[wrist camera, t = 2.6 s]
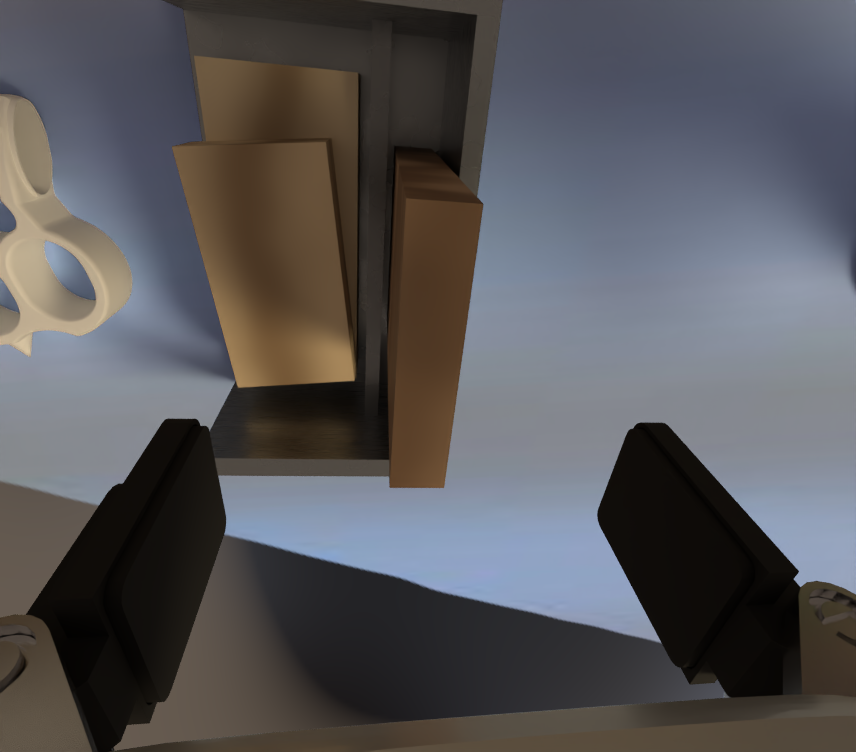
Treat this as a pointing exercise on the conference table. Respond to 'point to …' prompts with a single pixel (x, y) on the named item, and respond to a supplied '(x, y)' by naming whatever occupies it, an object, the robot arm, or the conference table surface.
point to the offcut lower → (292, 126)
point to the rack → (379, 132)
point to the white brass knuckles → (47, 221)
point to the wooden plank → (426, 311)
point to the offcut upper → (273, 256)
